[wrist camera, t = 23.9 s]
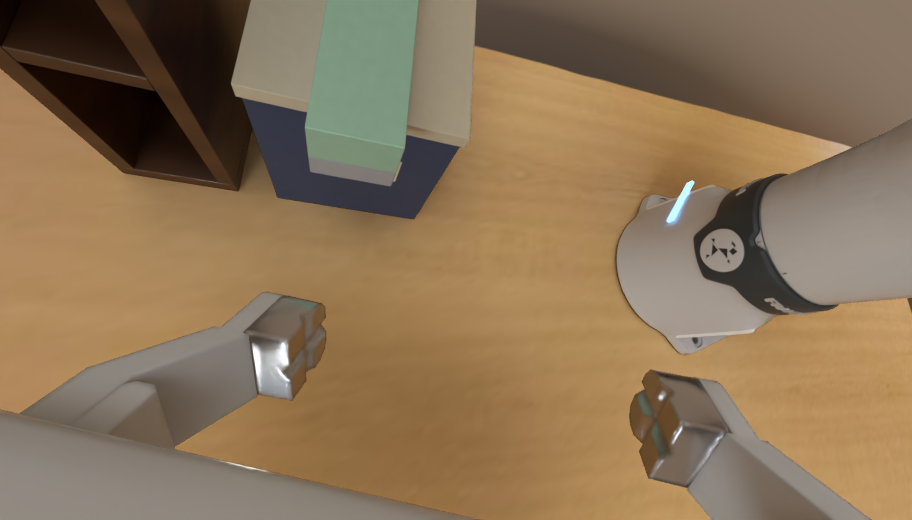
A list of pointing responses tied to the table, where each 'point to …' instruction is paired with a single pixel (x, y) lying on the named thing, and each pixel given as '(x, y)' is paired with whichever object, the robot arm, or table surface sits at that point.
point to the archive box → (289, 86)
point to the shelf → (138, 80)
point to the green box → (362, 89)
